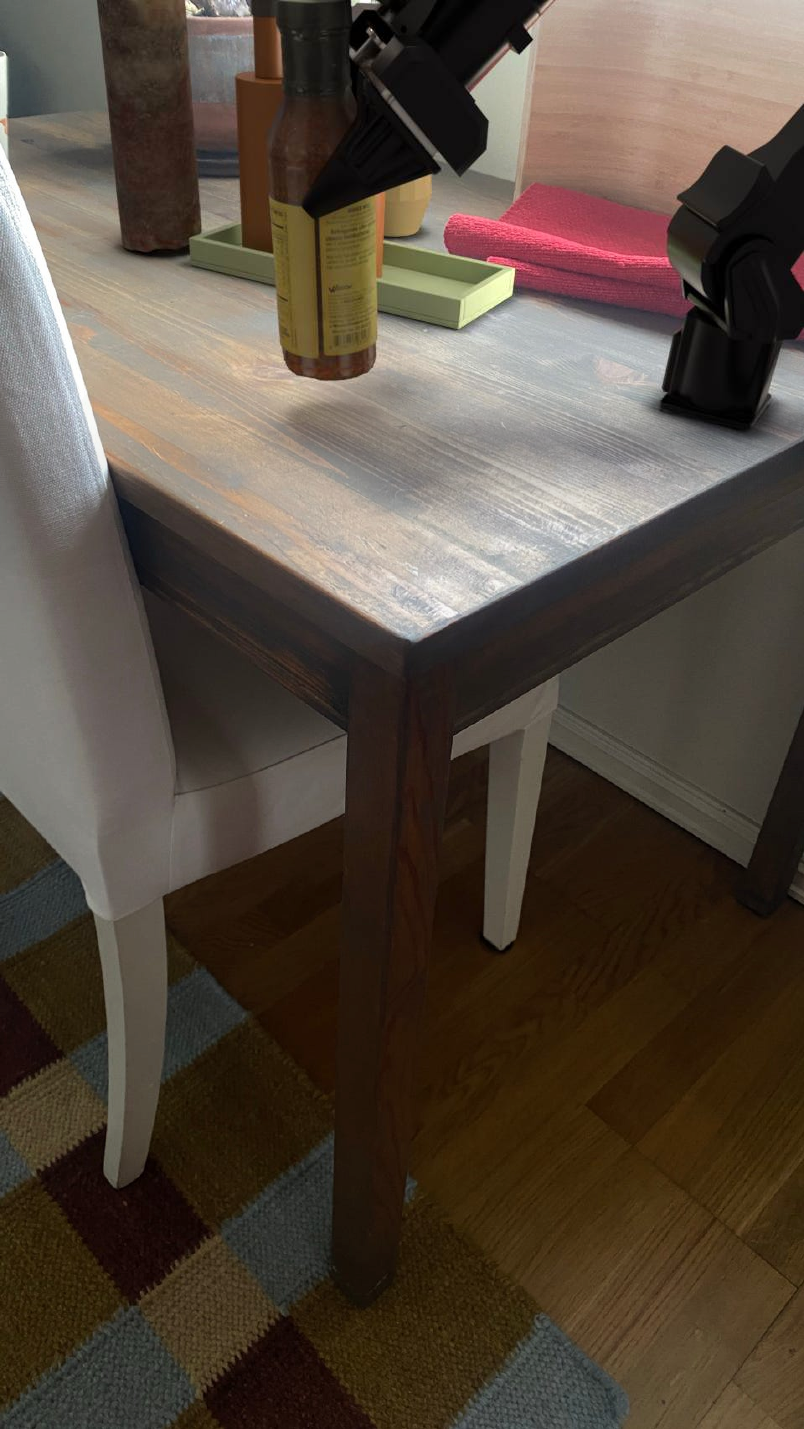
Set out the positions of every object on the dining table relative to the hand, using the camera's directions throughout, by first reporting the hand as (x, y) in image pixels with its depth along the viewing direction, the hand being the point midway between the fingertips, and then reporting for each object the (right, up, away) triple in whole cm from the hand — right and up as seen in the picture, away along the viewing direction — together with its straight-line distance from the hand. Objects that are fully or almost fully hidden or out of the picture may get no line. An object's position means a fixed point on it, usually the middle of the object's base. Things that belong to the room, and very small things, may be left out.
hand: (301, 197), depth 61 cm
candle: (-16, +13, +36) cm, 42 cm away
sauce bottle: (+1, -8, +7) cm, 10 cm away
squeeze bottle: (+5, +18, +44) cm, 47 cm away
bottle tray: (+1, +8, +31) cm, 32 cm away
